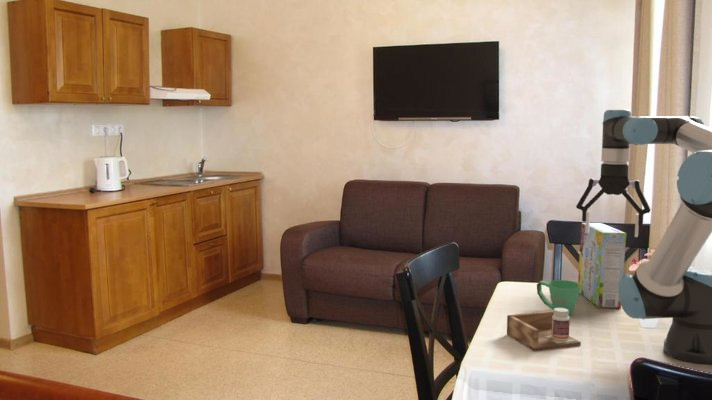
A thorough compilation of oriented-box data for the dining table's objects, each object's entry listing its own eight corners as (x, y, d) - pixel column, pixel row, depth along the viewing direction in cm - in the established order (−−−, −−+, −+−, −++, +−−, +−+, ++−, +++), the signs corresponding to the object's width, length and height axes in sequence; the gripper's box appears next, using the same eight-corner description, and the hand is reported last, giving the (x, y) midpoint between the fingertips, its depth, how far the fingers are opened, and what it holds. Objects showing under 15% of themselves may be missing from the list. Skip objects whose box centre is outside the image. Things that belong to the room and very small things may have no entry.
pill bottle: (572, 340, 179) (573, 311, 178) (556, 341, 178) (557, 312, 177) (563, 334, 184) (564, 306, 183) (548, 336, 183) (549, 307, 182)
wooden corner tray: (580, 345, 179) (581, 324, 178) (534, 351, 174) (534, 330, 173) (550, 329, 192) (551, 310, 191) (506, 335, 187) (507, 315, 186)
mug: (585, 314, 207) (586, 284, 205) (570, 320, 200) (571, 289, 199) (544, 304, 217) (545, 276, 216) (528, 310, 211) (529, 281, 209)
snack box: (624, 308, 212) (628, 232, 209) (597, 308, 213) (601, 232, 209) (599, 291, 234) (603, 221, 231) (576, 291, 234) (579, 221, 231)
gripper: (662, 163, 184) (658, 235, 187) (572, 160, 196) (569, 229, 198) (661, 165, 178) (657, 240, 181) (568, 162, 189) (565, 233, 192)
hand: (611, 234), depth 189 cm, fingers open, 13 cm apart
